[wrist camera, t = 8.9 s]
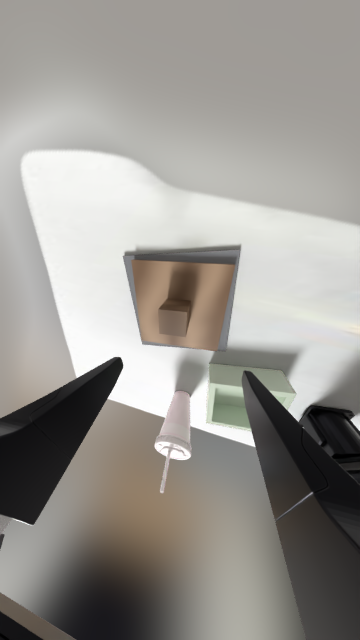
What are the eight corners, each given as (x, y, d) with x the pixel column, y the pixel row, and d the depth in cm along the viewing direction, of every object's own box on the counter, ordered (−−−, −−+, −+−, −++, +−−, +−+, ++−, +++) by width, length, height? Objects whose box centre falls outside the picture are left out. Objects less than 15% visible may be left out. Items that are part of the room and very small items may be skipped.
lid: (234, 264, 16) (243, 268, 12) (216, 348, 22) (218, 371, 18) (134, 259, 18) (111, 262, 14) (143, 337, 24) (130, 356, 20)
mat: (239, 249, 15) (240, 249, 15) (225, 349, 22) (225, 351, 22) (124, 255, 18) (122, 255, 18) (143, 343, 25) (142, 344, 25)
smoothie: (163, 388, 30) (134, 480, 18) (189, 384, 28) (175, 487, 16) (175, 405, 33) (157, 497, 20) (200, 403, 30) (195, 505, 18)
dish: (280, 369, 22) (296, 394, 18) (263, 409, 28) (272, 435, 24) (209, 361, 25) (209, 382, 21) (206, 400, 30) (206, 423, 26)
